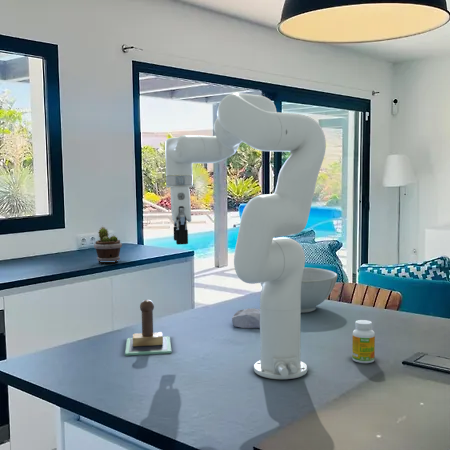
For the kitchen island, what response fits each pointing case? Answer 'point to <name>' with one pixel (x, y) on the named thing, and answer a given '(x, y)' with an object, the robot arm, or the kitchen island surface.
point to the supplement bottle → (363, 342)
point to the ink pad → (148, 348)
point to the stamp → (147, 328)
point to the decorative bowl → (315, 287)
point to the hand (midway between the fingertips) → (180, 242)
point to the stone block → (247, 318)
